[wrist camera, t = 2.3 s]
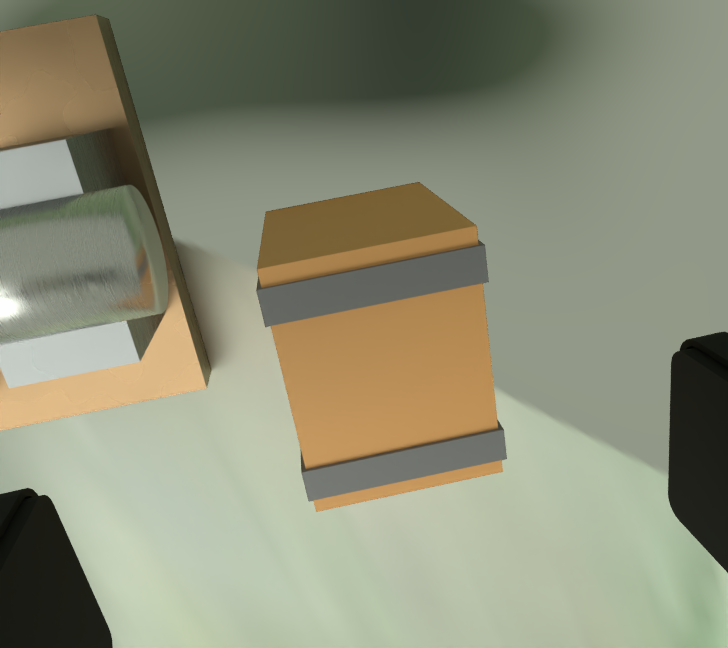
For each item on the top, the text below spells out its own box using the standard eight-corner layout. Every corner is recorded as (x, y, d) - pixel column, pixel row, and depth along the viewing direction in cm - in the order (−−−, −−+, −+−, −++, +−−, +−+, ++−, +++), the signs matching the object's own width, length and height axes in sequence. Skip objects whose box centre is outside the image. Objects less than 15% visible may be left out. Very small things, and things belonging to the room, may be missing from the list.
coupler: (262, 212, 18) (251, 271, 13) (422, 181, 18) (483, 225, 13) (304, 395, 20) (312, 515, 15) (447, 365, 21) (508, 472, 15)
